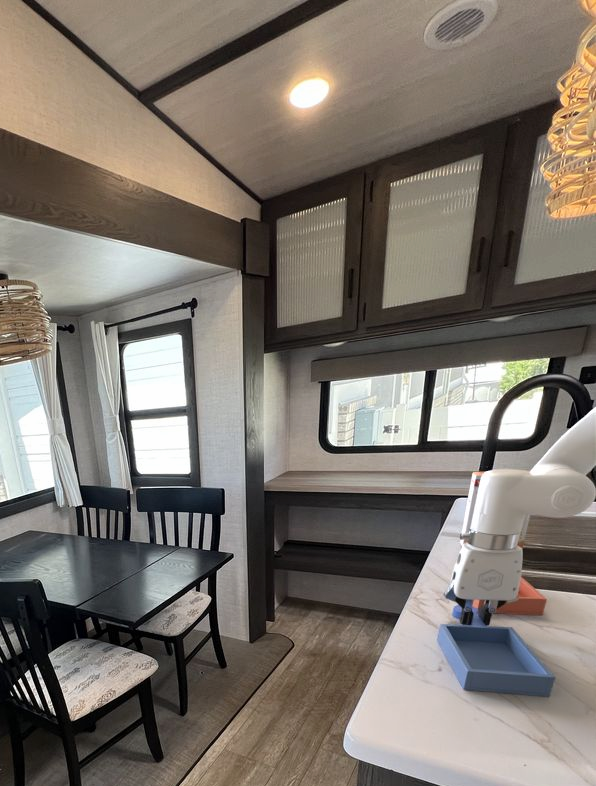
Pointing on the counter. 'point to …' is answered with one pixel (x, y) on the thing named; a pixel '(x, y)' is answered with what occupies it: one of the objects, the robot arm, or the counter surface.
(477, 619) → the blue keyhole shape
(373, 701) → the counter surface
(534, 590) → the terracotta bin
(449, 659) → the blue bin
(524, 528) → the cracker box
